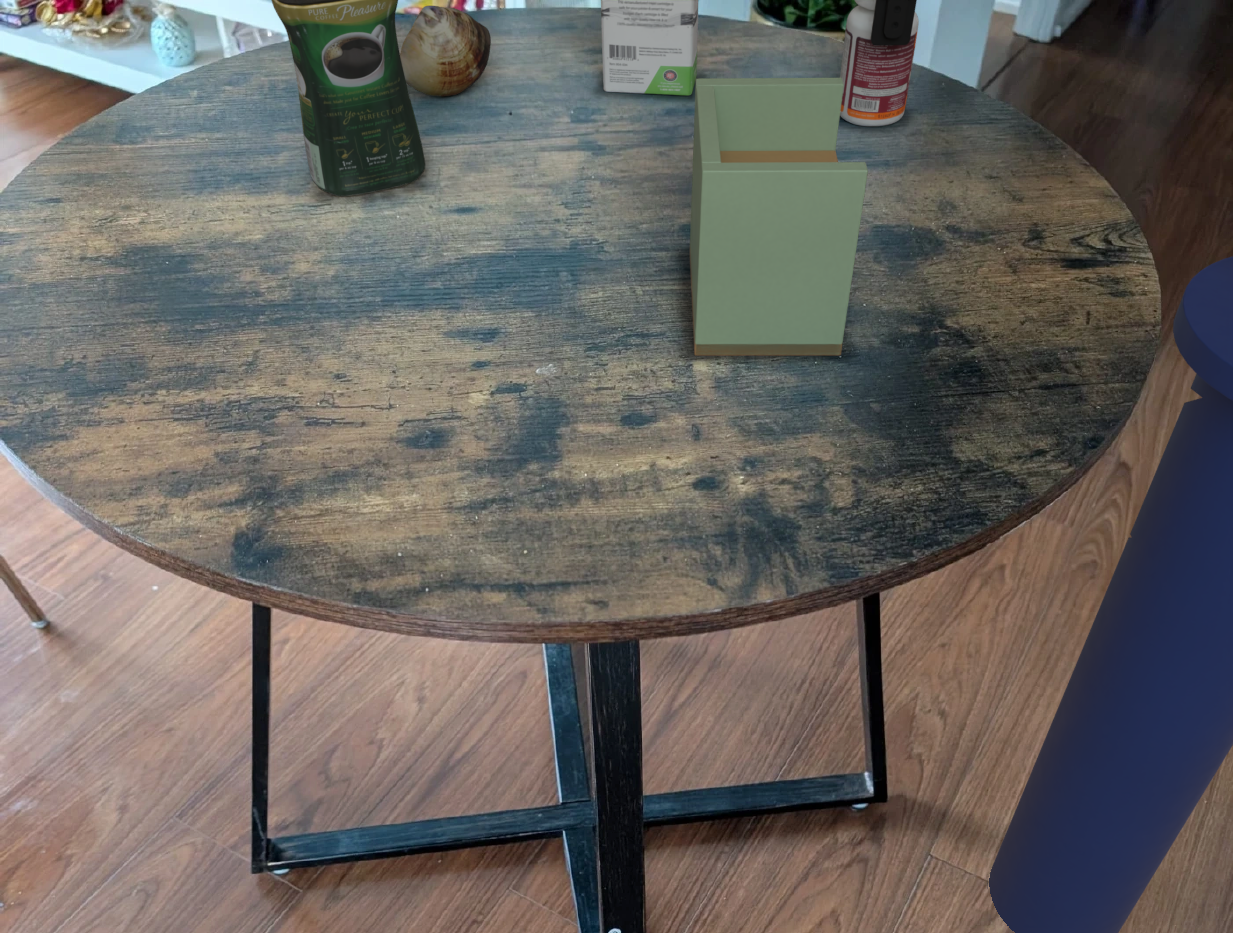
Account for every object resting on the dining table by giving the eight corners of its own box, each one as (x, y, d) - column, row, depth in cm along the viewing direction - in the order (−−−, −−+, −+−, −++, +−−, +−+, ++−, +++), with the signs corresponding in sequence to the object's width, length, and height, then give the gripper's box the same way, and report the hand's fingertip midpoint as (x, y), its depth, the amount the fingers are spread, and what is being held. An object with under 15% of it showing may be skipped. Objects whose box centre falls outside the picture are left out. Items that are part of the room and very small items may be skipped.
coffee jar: (411, 147, 102) (376, -93, 89) (435, 185, 97) (402, -63, 84) (302, 167, 100) (249, -77, 86) (321, 207, 95) (268, -45, 81)
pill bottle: (917, 119, 105) (941, -18, 97) (862, 134, 103) (882, -4, 95) (875, 95, 109) (895, -39, 100) (821, 109, 107) (837, -26, 98)
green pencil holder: (820, 252, 89) (841, 77, 79) (840, 355, 79) (868, 170, 70) (689, 252, 89) (695, 77, 80) (694, 355, 79) (702, 170, 70)
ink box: (697, 76, 112) (702, -60, 104) (691, 97, 109) (695, -42, 100) (610, 71, 113) (608, -64, 105) (601, 92, 110) (598, -46, 101)
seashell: (421, 117, 107) (409, 24, 101) (391, 97, 110) (377, 6, 104) (508, 91, 110) (501, 0, 105) (476, 72, 114) (467, -17, 108)
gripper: (990, -193, 82) (942, 62, 94) (947, -246, 93) (909, -13, 106) (883, -192, 82) (850, 62, 94) (853, -245, 94) (827, -13, 106)
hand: (881, 22), depth 100 cm, fingers open, 9 cm apart
